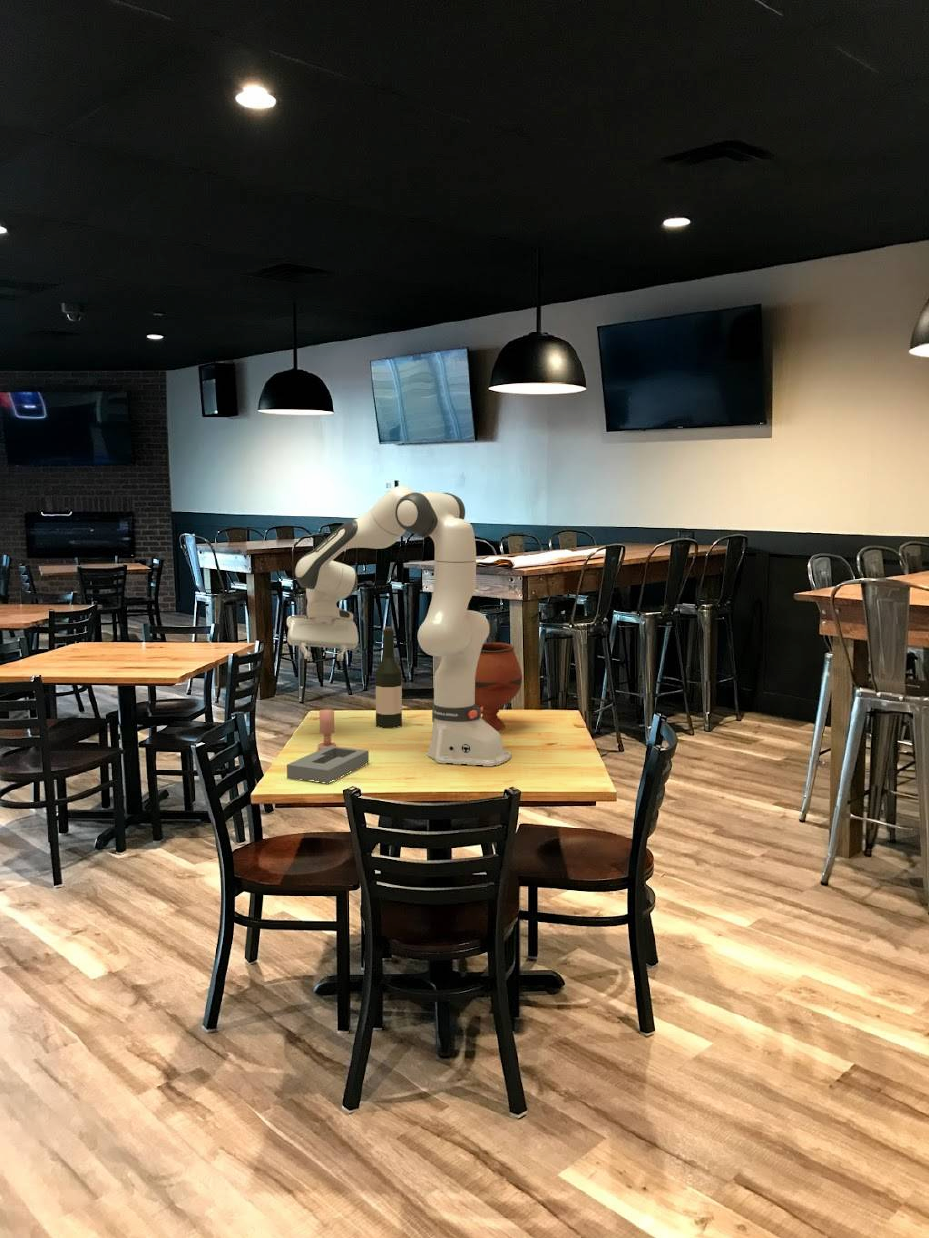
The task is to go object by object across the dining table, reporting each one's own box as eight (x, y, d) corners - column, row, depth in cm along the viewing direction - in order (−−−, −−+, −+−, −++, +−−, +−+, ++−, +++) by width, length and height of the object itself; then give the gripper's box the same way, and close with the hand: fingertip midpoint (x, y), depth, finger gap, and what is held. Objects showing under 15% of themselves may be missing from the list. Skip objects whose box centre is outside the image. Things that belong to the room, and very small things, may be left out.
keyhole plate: (329, 758, 270) (329, 745, 270) (368, 763, 265) (368, 750, 265) (287, 778, 252) (286, 764, 251) (328, 784, 247) (328, 770, 247)
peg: (339, 748, 280) (339, 709, 278) (330, 753, 275) (329, 713, 274) (324, 746, 282) (323, 708, 280) (314, 751, 277) (314, 711, 276)
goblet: (447, 731, 299) (447, 648, 295) (472, 717, 316) (472, 639, 313) (508, 738, 291) (509, 653, 288) (530, 723, 309) (531, 643, 305)
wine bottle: (370, 726, 304) (369, 628, 300) (382, 720, 312) (382, 624, 308) (395, 729, 301) (394, 630, 297) (407, 723, 309) (406, 626, 305)
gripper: (288, 608, 287) (289, 651, 280) (358, 614, 294) (361, 655, 287) (284, 619, 292) (285, 662, 285) (353, 624, 299) (356, 666, 292)
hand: (323, 659), depth 286 cm, fingers open, 8 cm apart
